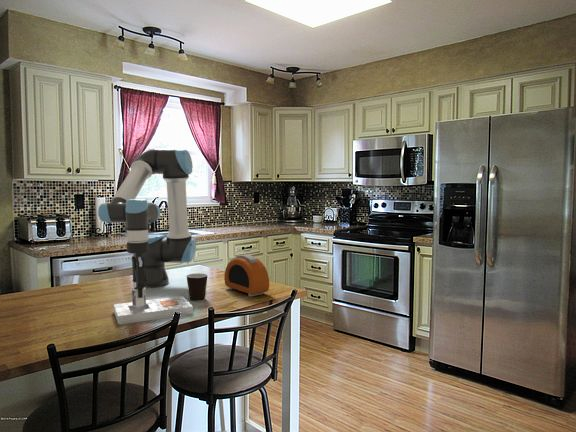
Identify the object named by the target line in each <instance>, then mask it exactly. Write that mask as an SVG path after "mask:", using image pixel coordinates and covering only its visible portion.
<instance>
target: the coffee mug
mask: <svg viewBox="0 0 576 432" xmlns="http://www.w3.org/2000/svg"><path fill="white" fill-rule="evenodd" d="M186 281H187V283H186V284H187V289H188V297H189V301H191V302H201V301H205V300H206V294H207V285H208V284H207V283H208V274H207V273H190V274H186Z"/></svg>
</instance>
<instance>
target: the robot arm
mask: <svg viewBox="0 0 576 432" xmlns="http://www.w3.org/2000/svg"><path fill="white" fill-rule="evenodd" d="M193 168H194V167H193V159H192V157H191V154H190V152H189V150H187V149H185V148H179V147H176V148H151V149H148V150H146V151H144V152H142V153H141V154H140V155H138V156H137V157H136V158H135V159H134V160H133V162H132V163H131V165H130V171H129V172H128V174H127V175H126V177H125V178H124V180H123V181H122V183H121V185H120V187H119V188H118V190H117V191H116V193H115V194H114V196H113V198H112V199H111V201H110V202H103V203H101V204H100V205H98V209H97V214H98V215H97V216H98V219H99V220H100V221H101V222H103V223H111V224H112V223H114V224H115V223H116V224H117V223H122V224H123V223H126V225H125V226H126V228H125V231H126V232H124V236H126V241H127V243H126V252H127V253H129V254H133V255H132V256H131V262H132V263H131V266H132V267H131V268H132V284H133V283H134V282H136V288H134V289H136V307H139V306H144V288H157V287H163V286H166V285H168V284H169V281H170V280H169V279H170V278H169V276H168V272H167V271H166V266H165V264H166V263H169V264H170V263H171V264H172V263H173V264H174V263H176V264H177V263H178V264H179V263H181V264H185V263H186V264H187V263H191V262H192V261H193V260H194V257H195V255H196V251H197V250H196V249H197V240H196V238H193V237H192V233H191V232H190V231H189V221H188V204H187V201H188V200H187V184H186V182H187V181H188V179H189V177H190V176H189V175H192V173H193ZM157 174H158V175H162V179H163V180H164V181H165V182H166V192H167V194H166V195H167V211H168V212H167V214H168V227H169V228H168V229H169V232H168V233H167V234H166V237H165V235H164V234H157V235H149V223H154V222H156V221H157V220H159V218H160V217H161V215H162V214H161V213H162V212H161V209H160V206H159V205H157V204H156V203H153V202H148V200H147V199H145V198H137V196H138V195H139V194H140V191H141V190H142V188H143V186H144V185H145V183H146V181H147V180H148V179H150V178H151V177H152V175H157Z"/></svg>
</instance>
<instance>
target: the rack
mask: <svg viewBox="0 0 576 432" xmlns="http://www.w3.org/2000/svg"><path fill="white" fill-rule="evenodd" d="M177 311H178V312H181V316H180V317H184V316H190V314H191V315H194V306H193V305H192V304H191V303H190V302H189V300H187V299H186V298H185V297H184V296H183V295H181V296H174V297H173V296H172V297H164V298H157V299H156V298H155V299H146V304H145V305H144V306H139V307H136V306H133V305H132V301H131V302H129V301H128V302H124V303H123V302H121V303H115V304H113V314H114V316H115V319H116V322H117V325H118V326H119V325H120V326H121V325H127V324H134V323H141V322H149V321H155V320H161V319H168V318H174V317H173V315H174V313H175V312H177ZM183 315H184V316H183Z"/></svg>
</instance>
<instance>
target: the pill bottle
mask: <svg viewBox="0 0 576 432" xmlns="http://www.w3.org/2000/svg"><path fill="white" fill-rule="evenodd" d="M134 288H136V282H134V283H133V282H132V288H131V297H132V299H131V302H132V305H133V306H136V289H134ZM146 288H147V287H145V288H144V305H145V304H146V300H147V294H146V291H147V289H146Z"/></svg>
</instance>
